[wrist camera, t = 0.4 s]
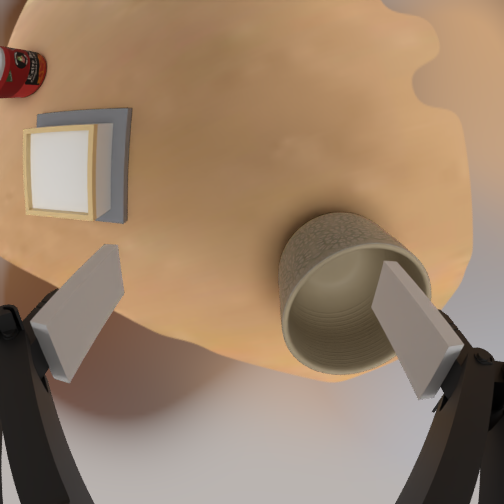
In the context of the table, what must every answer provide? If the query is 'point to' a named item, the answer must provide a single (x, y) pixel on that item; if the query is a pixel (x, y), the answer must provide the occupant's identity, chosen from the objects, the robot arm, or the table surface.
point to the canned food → (20, 72)
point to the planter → (339, 292)
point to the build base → (78, 165)
